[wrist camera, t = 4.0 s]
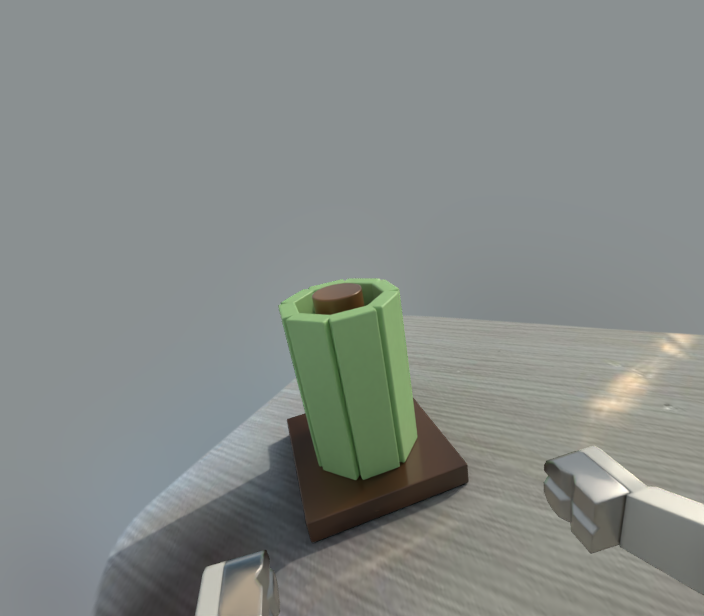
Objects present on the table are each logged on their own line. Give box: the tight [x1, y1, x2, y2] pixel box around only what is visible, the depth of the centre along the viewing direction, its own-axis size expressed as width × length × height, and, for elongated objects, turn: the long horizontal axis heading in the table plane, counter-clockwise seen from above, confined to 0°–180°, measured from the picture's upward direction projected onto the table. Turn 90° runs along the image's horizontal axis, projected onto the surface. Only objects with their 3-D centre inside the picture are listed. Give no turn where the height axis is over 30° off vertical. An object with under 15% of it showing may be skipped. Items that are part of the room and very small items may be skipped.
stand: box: [287, 283, 468, 543], centre depth 19 cm, size 8×8×10 cm
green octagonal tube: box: [278, 279, 417, 480], centre depth 19 cm, size 6×6×8 cm
